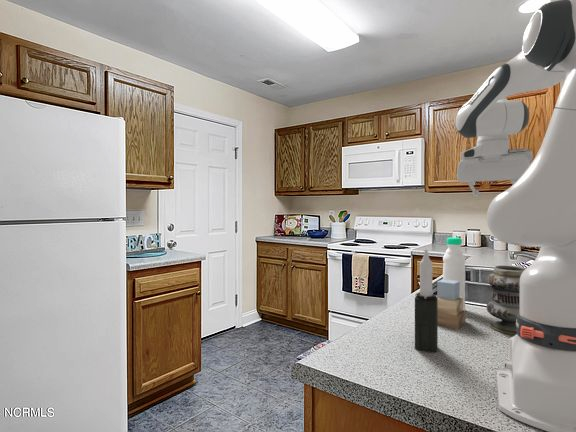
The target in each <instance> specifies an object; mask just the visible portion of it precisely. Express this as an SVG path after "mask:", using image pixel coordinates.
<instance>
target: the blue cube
mask: <svg viewBox="0 0 576 432" xmlns="http://www.w3.org/2000/svg"><path fill="white" fill-rule="evenodd" d="M436 282H437V283H436V286H437V287H436V292H437V294H436V295H437V298H442V299H448V300H454V301H455V300H456V299H458V298H459V297H460V281H454V280H447V279H443V278H442V279H440V280H438V281H436Z"/></svg>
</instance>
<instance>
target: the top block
mask: <svg viewBox="0 0 576 432" xmlns="http://www.w3.org/2000/svg"><path fill="white" fill-rule="evenodd" d="M436 297H437V294H436ZM462 310H463V297H459V298H458V299H456V300H455V301H454V300H448V299H442V298H438V312H440V313H445V314H451V315H458V314H459V313H460V312H461V311H462Z"/></svg>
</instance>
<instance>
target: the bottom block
mask: <svg viewBox="0 0 576 432" xmlns="http://www.w3.org/2000/svg"><path fill="white" fill-rule="evenodd" d="M466 311H467V310H466V309H465V310H462V311H461V312H460V313H459V314H458V315H451V314H445V313H440V312H438V326H441V327H442V326H443V327H447V328H452V329H456V330H457V329H460V328H461V327H462V326H463V325H464V324H465V323H466V316H467V315H466Z"/></svg>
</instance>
